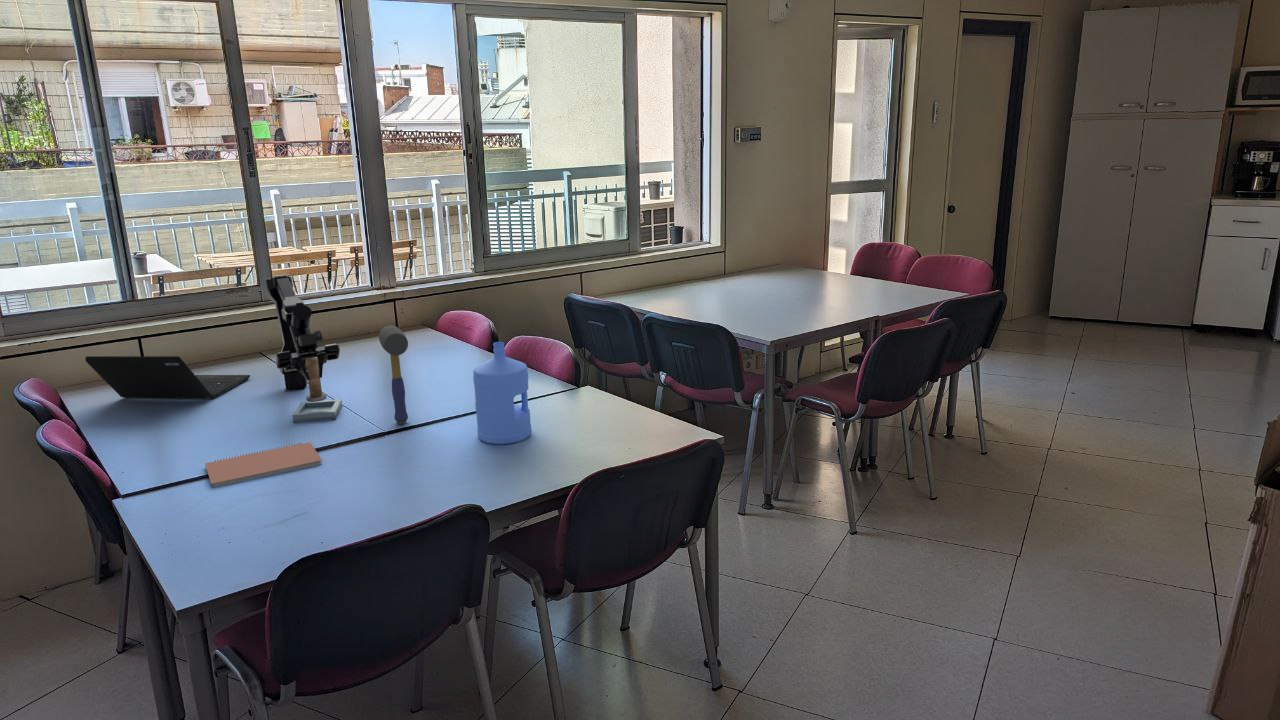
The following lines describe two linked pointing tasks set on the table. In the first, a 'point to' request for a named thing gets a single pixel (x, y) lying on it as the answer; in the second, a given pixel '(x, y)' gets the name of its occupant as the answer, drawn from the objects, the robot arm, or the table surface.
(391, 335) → the rubber mallet
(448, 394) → the table surface
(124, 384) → the laptop
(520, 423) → the water jug
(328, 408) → the tray
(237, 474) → the notebook
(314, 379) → the wooden post on disc
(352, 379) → the table surface
